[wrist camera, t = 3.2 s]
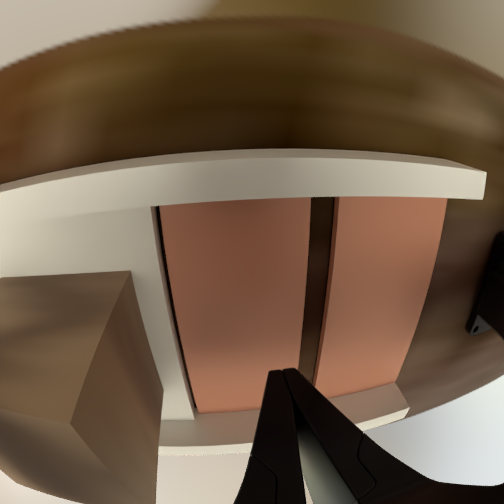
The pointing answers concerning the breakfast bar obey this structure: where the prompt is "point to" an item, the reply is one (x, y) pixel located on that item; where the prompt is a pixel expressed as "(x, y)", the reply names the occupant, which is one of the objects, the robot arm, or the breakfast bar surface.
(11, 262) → the trap channel
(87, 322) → the walnut block
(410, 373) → the breakfast bar surface
